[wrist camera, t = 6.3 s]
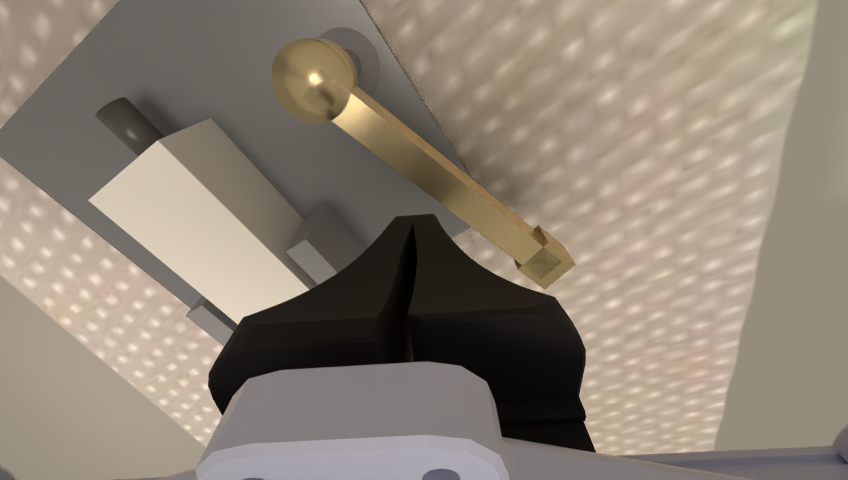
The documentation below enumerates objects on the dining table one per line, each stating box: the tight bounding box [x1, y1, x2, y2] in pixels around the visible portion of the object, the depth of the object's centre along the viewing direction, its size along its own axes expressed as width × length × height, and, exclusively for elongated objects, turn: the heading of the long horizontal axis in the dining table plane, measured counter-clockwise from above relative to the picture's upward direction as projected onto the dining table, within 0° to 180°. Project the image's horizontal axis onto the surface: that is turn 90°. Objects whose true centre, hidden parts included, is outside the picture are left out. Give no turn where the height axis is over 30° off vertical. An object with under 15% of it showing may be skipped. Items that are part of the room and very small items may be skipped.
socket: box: [0, 0, 472, 346], centre depth 17 cm, size 17×19×5 cm
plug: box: [88, 97, 318, 324], centre depth 18 cm, size 11×4×4 cm, turn 33°
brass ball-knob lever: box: [271, 38, 575, 289], centre depth 13 cm, size 2×13×1 cm, turn 51°
